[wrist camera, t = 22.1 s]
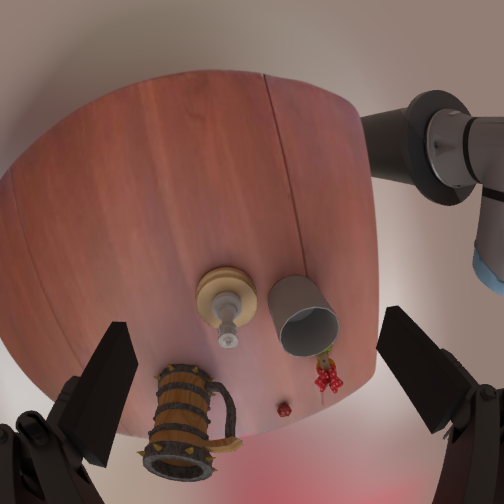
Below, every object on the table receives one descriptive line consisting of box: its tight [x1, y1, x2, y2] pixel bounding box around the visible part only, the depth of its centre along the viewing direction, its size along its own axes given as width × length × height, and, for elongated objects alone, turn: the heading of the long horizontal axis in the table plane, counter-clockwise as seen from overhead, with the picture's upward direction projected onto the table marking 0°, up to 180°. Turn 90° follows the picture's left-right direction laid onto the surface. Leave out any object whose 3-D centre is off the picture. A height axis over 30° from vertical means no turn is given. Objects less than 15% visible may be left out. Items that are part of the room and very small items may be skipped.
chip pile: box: [196, 267, 257, 329], centre depth 42 cm, size 10×9×3 cm
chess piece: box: [212, 291, 242, 349], centre depth 35 cm, size 4×4×10 cm
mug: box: [137, 364, 243, 482], centre depth 39 cm, size 13×17×20 cm
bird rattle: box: [315, 345, 343, 393], centre depth 44 cm, size 6×11×9 cm
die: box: [277, 404, 292, 417], centre depth 52 cm, size 3×3×3 cm
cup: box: [268, 275, 340, 358], centre depth 40 cm, size 8×8×10 cm
